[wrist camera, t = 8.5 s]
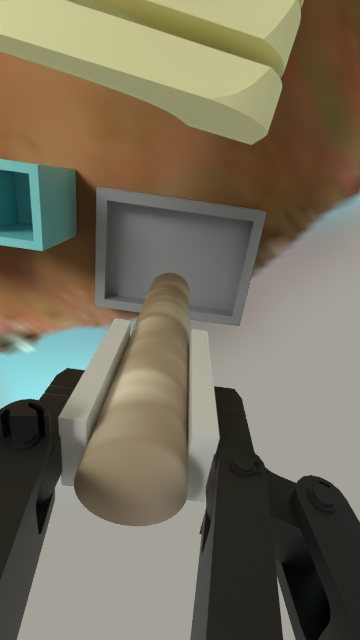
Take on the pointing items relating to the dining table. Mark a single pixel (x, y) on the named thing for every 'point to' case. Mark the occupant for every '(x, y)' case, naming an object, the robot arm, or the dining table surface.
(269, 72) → the slatted curved stool
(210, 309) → the tray
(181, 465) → the dowel
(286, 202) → the dining table surface
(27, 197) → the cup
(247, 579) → the robot arm
